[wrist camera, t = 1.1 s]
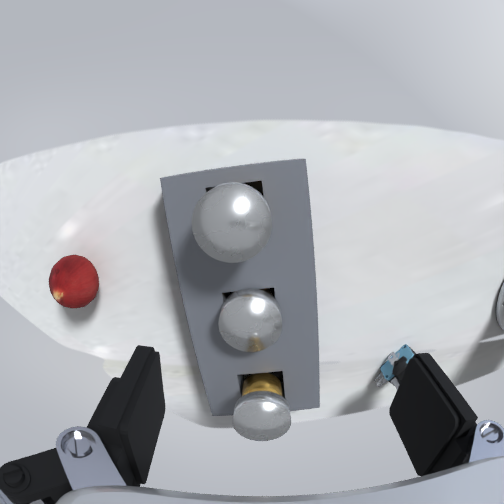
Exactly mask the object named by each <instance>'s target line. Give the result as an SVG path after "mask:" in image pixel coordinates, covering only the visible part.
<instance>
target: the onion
mask: <svg viewBox="0 0 504 504" xmlns="http://www.w3.org/2000/svg"><path fill="white" fill-rule="evenodd" d="M49 287H50V292H51V294H52V296H53V298H54V299H55V300H56V301H57V302H58V303H59V304H61V305H62V306H64V307H68V308H80V307H85V306H86V305H87V304H89V303H90V302H91V301H92V300H93V299H94V298H95V296H96V294H97V291H98V288H99V277H98V274H97V271H96V269H95V267H94V266H93V264H92V263H91V262H90V261H89V260H88V259H86V258H85V257H82V256H78V255H70V256H66V257H63V258H62V259H60V260H59V261H58V262H57V263H56V264H55V265H54V266H53V268H52V270H51V273H50V277H49Z"/></svg>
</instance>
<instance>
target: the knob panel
mask: <svg viewBox="0 0 504 504" xmlns="http://www.w3.org/2000/svg"><path fill="white" fill-rule="evenodd" d="M261 180H262V186H263V195H264V198H265V200H266V201H267V204H268V206H269V209H270V213H271V219H272V229H271V234H270V237H269V240H268V242H267V244H266V245H265V247H264V248H263V249H262V250H261V251H260V252H259V253H258V254H257V255H256V256H254V257H252V258H251V259H248V260H246V261H243V262H237V263H227V262H222V261H219V260H216V259H214V258H212V257H211V256H209V255H208V254H206V253H205V252H204V251H203V250H202V249H201V248H200V246H199V245H198V243H197V241H196V240H195V237H194V235H193V231H192V215H193V211H194V208H195V206H196V204H197V203H198V201H199V200H200V198H201V197H202V196H203V195H204V194H205V193H206V192H208V191H209V190H211V189H213V187H214V186H218V185H220V184H223V183H228V182H239V183H245V182H253V181H261ZM160 181H161V187H162V194H163V200H164V206H165V212H166V218H167V223H168V229H169V234H170V240H171V245H172V250H173V256H174V261H175V266H176V271H177V275H178V280H179V285H180V290H181V294H182V299H183V303H184V308H185V312H186V316H187V321H188V325H189V329H190V333H191V337H192V341H193V346H194V349H195V353H196V357H197V361H198V365H199V369H200V373H201V376H202V380H203V384H204V387H205V391H206V394H207V398H208V402H209V405H210V408H211V412H212V415H213V416H224V415H234V407H235V404H236V402H237V401H238V399H239V398H241V397H242V391H243V383H244V378H243V374H254V373H266V372H277V371H283V380H284V382H281V387H282V397H284V398H285V399H286V400H287V402H288V404H289V407H290V411H295V410H304V409H312V408H319V407H320V396H319V340H318V313H317V292H316V274H315V259H314V245H313V232H312V219H311V208H310V197H309V187H308V177H307V168H306V159H293V160H282V161H273V162H264V163H255V164H247V165H239V166H232V167H224V168H217V169H211V170H204V171H197V172H191V173H185V174H179V175H173V176H168V177H164V178H160ZM273 287H274V291H275V300H276V301H277V303H278V304H279V307H280V310H281V318H282V331H281V334H280V336H279V338H278V339H277V341H276V342H275V343H274V344H273V345H271V346H270V347H268V348H266V349H264V350H261V351H257V352H245V351H241V350H238V349H235V348H233V347H232V346H230V345H229V344H228V343H227V342H226V341H225V340H224V339H223V337H222V336H221V334H220V331H219V326H218V322H219V317H220V313H221V309H222V306H223V304H224V302H225V300H226V299H227V298H228V297H229V292H234V291H238V290H241V289H246V288H255V289H264V288H273Z"/></svg>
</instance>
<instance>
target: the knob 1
mask: <svg viewBox="0 0 504 504" xmlns="http://www.w3.org/2000/svg"><path fill="white" fill-rule="evenodd" d="M271 229H272V219H271V213H270V209H269V206H268V204H267V201H266V200H265V198H264V197H263V196H262V195H261V193H260V192H258V191H257V190H256V189H255V188H253V187H251V186H249V185H247V184H244V183H239V182H228V183H223V184H220V185H218V186H216V187H214V188H213V189H211V190H209V191H208V192H206V193H205V194H204V195H203V196H202V197H201V198H200V200H199V201H198V203H197V204H196V206H195V208H194V211H193V215H192V231H193V235H194V237H195V240H196V241H197V243H198V245H199V246H200V248H201V249H202V250H203V251H204V252H205V253H206V254H208V255H209V256H211V257H212V258H214V259H216V260H219V261H222V262H227V263H237V262H243V261H246V260H248V259H251V258H252V257H254V256H256V255H257V254H258V253H259V252H260V251H261V250H262V249H263V248H264V247H265V245H266V244H267V242H268V240H269V237H270V234H271Z"/></svg>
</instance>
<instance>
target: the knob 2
mask: <svg viewBox="0 0 504 504" xmlns="http://www.w3.org/2000/svg"><path fill="white" fill-rule="evenodd" d="M290 425H291V416H290V407H289V404H288V402H287V400H286V399H285V398H284V397H282V387H281V382H280V380H279V379H278V378H277V377H276V376H275V375H273V374H270V373H255V374H252V375H250V376H248V377H247V378H246V379H245V381H244V383H243V391H242V397H241V398H239V399H238V401H237V402H236V404H235V407H234V415H233V426H234V429H235V430H236V431H237V432H238V433H239V434H240V435H241V436H243V437H245V438H248V439H250V440H256V441H268V440H273V439H276V438H278V437H281V436H282V435H283V434H285V433H286V432H287V431H288V430H289V428H290Z"/></svg>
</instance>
